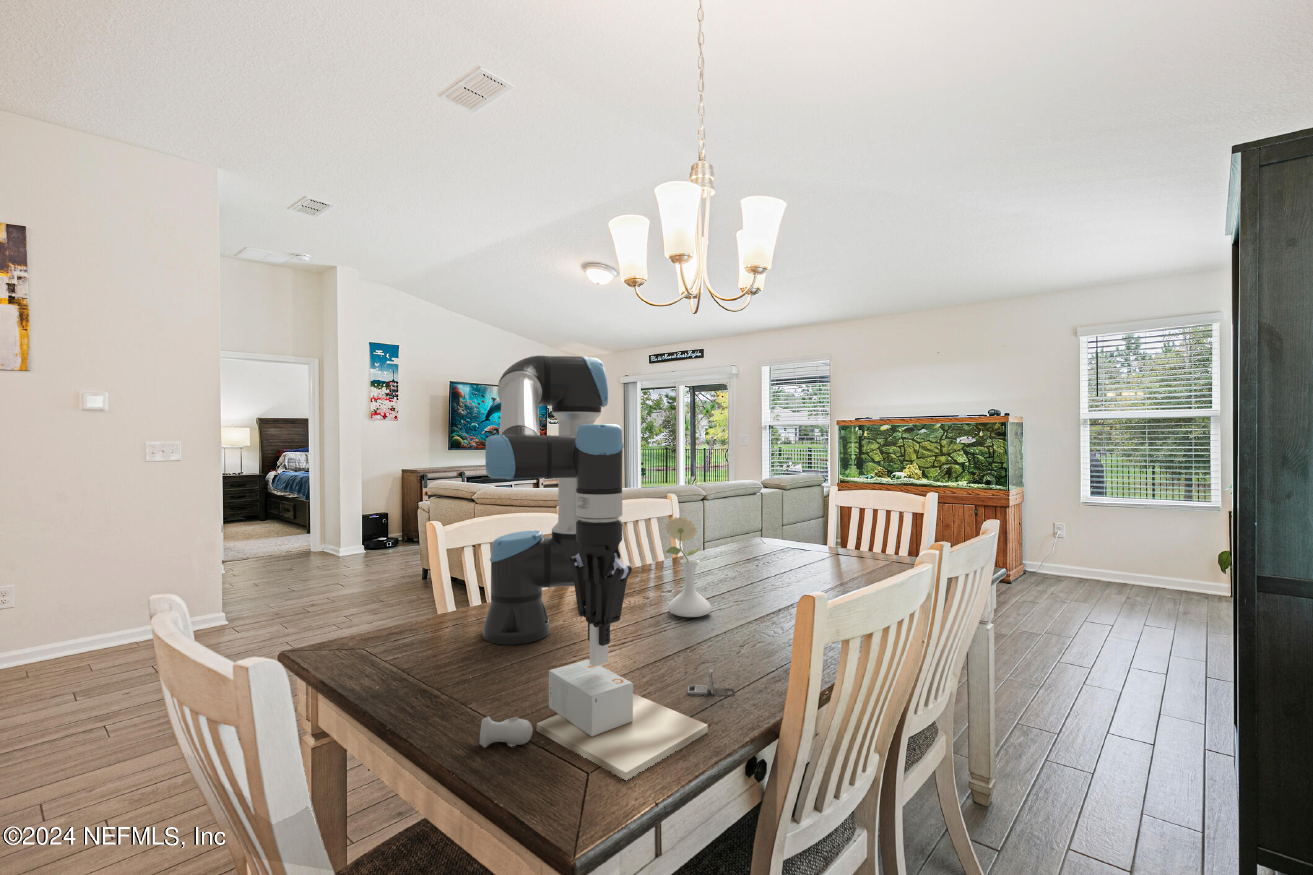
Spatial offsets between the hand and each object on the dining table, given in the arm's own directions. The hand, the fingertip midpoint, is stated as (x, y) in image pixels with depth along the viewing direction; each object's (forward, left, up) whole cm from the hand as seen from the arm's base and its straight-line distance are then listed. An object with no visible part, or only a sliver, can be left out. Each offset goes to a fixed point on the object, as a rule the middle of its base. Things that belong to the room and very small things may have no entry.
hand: (598, 662), depth 98 cm
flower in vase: (-26, +54, -10) cm, 61 cm away
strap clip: (+7, +21, -10) cm, 24 cm away
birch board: (+5, 0, -9) cm, 11 cm away
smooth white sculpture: (-5, -14, -10) cm, 18 cm away
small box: (-7, 0, -5) cm, 9 cm away
